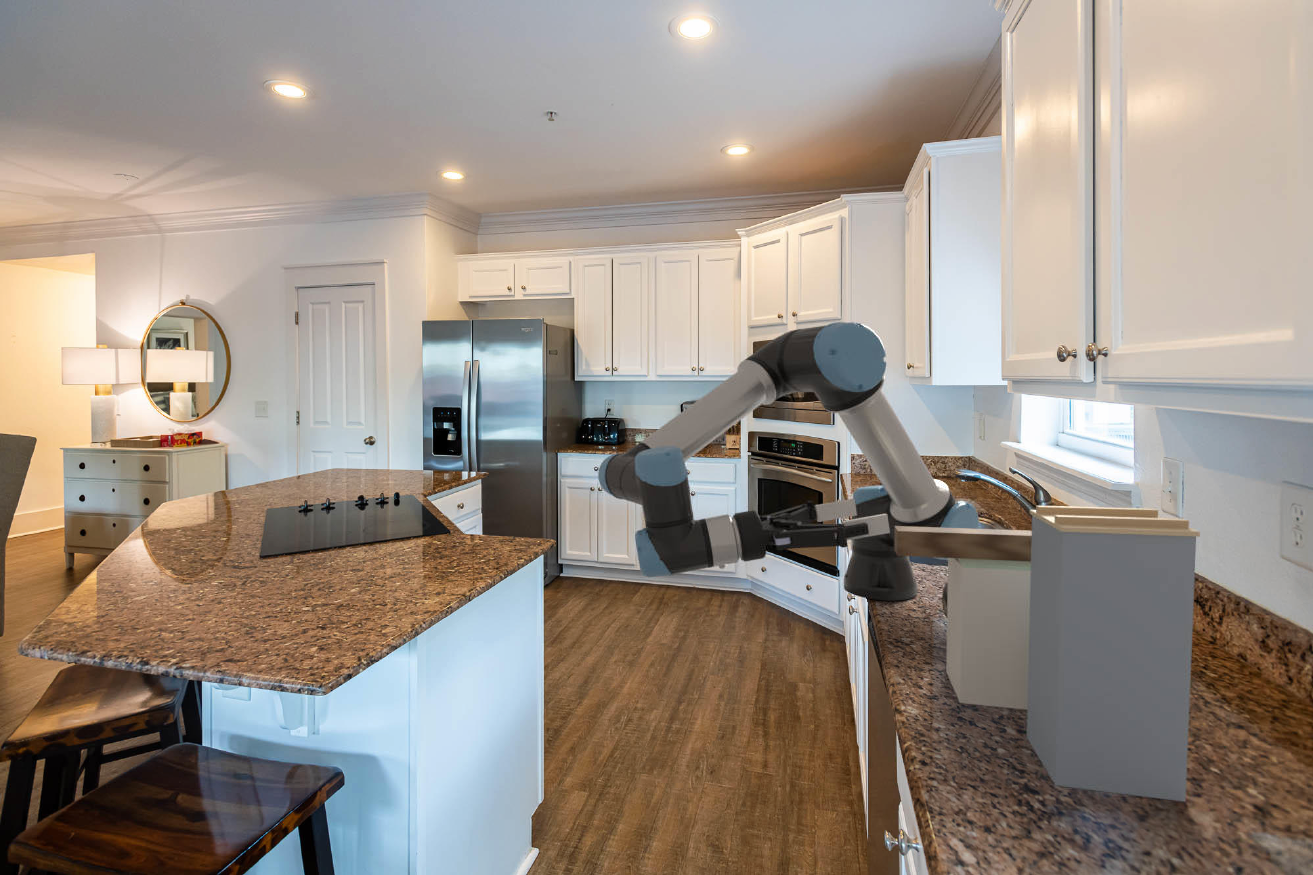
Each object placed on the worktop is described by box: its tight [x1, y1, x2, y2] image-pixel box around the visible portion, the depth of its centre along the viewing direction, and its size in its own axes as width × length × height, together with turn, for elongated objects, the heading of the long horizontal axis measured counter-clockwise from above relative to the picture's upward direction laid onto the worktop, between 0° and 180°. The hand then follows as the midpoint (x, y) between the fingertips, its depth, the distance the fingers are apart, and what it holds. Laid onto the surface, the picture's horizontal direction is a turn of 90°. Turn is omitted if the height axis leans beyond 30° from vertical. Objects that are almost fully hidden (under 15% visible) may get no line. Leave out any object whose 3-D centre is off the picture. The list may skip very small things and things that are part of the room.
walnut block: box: [894, 526, 1032, 562], centre depth 90 cm, size 26×4×4 cm, turn 76°
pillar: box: [1026, 505, 1201, 803], centre depth 71 cm, size 12×10×29 cm
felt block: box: [945, 558, 1031, 711], centre depth 89 cm, size 20×10×20 cm, turn 75°
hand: (870, 514), depth 98 cm, fingers open, 13 cm apart
